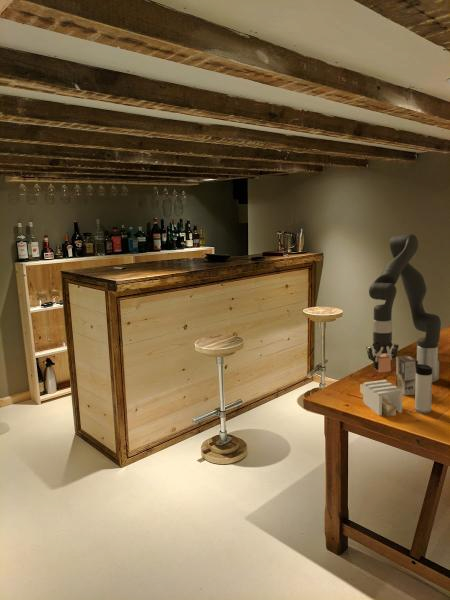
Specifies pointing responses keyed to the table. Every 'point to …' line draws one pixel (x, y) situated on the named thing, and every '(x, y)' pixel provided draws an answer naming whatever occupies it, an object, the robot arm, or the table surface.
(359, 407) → the table surface
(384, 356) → the block
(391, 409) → the rod
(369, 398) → the tunnel
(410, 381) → the coffee box
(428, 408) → the travel mug
